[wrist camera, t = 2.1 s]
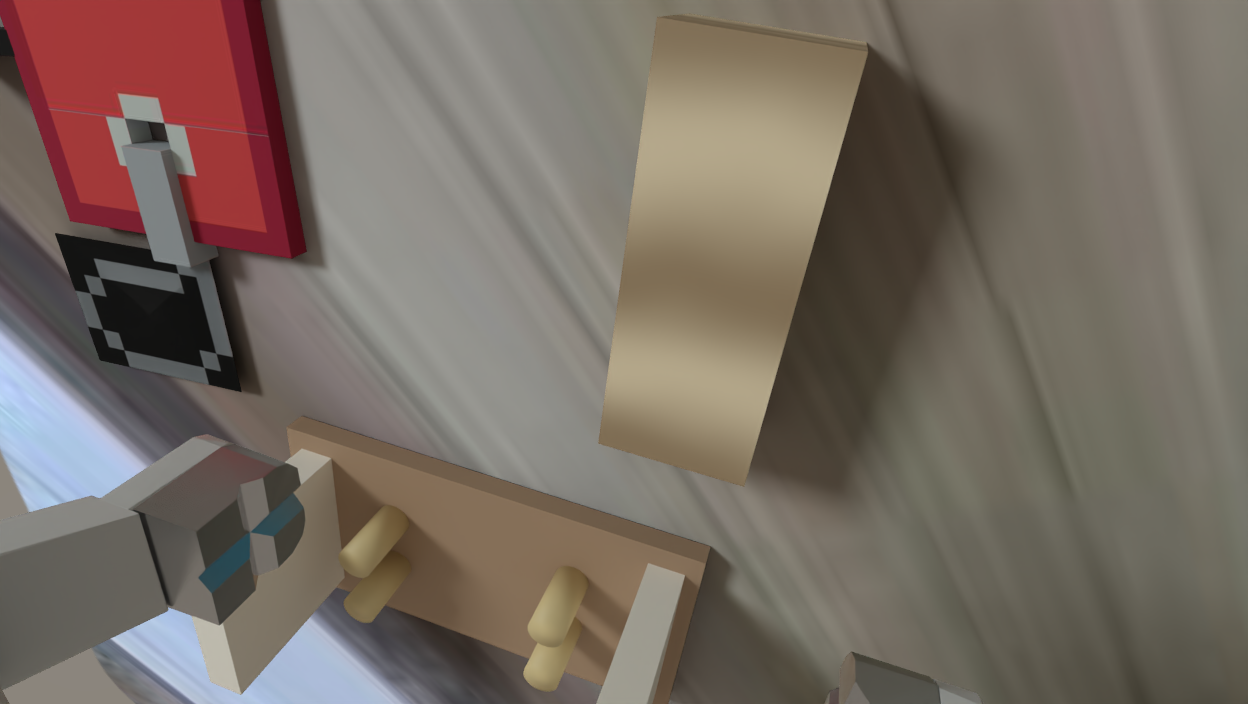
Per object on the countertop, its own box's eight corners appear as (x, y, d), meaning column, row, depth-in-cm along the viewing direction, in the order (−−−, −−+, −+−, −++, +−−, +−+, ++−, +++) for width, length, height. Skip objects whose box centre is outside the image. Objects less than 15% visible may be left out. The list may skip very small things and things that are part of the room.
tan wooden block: (691, 13, 20) (657, 16, 16) (866, 41, 19) (868, 51, 15) (631, 385, 26) (598, 443, 23) (758, 420, 25) (743, 486, 22)
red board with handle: (88, 345, 35) (341, 401, 31) (32, 370, 32) (299, 433, 29) (-223, -521, 21) (175, -584, 17) (-364, -591, 18) (68, -680, 15)
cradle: (710, 546, 28) (663, 720, 21) (671, 691, 33) (623, 870, 26) (301, 415, 32) (152, 528, 25) (321, 563, 37) (201, 690, 30)
